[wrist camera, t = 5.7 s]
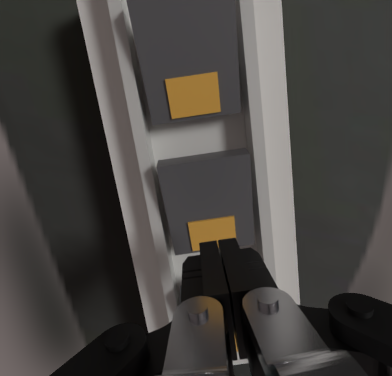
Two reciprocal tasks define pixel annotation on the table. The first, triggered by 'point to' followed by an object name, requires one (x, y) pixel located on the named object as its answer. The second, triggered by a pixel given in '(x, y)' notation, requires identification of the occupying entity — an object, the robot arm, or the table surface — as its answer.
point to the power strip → (195, 146)
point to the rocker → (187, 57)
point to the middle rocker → (208, 198)
